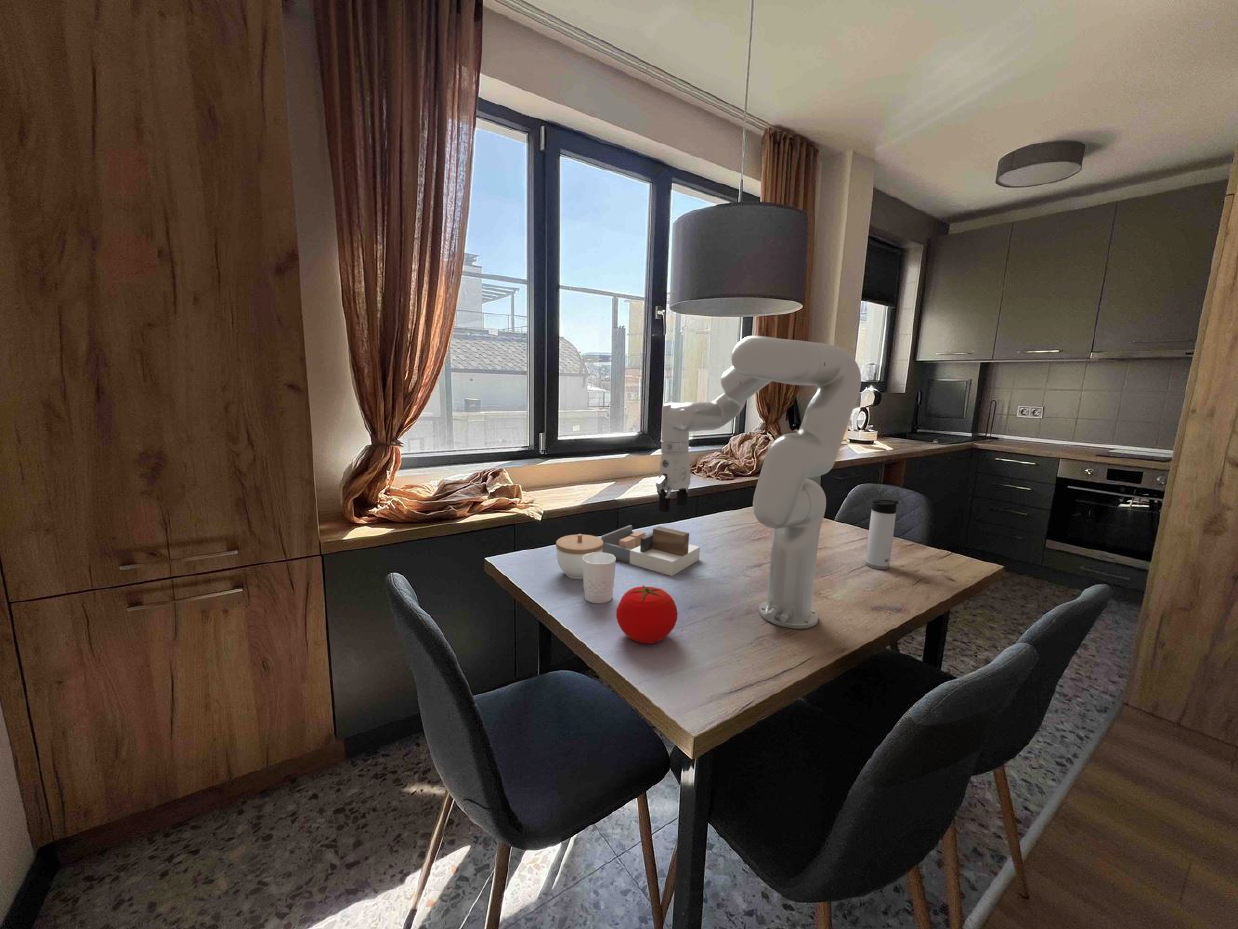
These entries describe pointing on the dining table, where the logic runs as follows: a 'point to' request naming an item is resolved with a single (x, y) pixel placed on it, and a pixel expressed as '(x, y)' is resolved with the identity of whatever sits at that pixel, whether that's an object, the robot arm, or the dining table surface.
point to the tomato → (646, 614)
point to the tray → (617, 543)
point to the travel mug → (881, 533)
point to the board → (664, 559)
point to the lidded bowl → (576, 552)
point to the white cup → (598, 576)
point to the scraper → (666, 541)
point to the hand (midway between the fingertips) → (673, 508)
